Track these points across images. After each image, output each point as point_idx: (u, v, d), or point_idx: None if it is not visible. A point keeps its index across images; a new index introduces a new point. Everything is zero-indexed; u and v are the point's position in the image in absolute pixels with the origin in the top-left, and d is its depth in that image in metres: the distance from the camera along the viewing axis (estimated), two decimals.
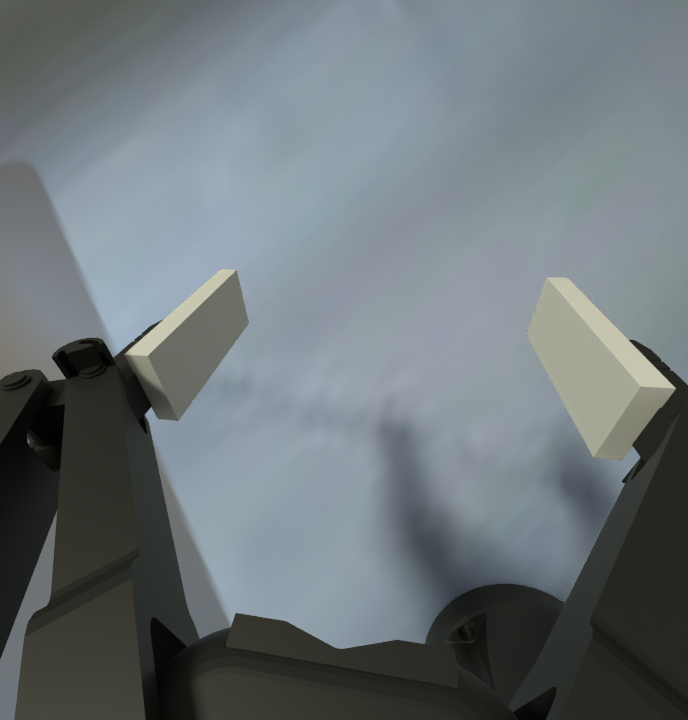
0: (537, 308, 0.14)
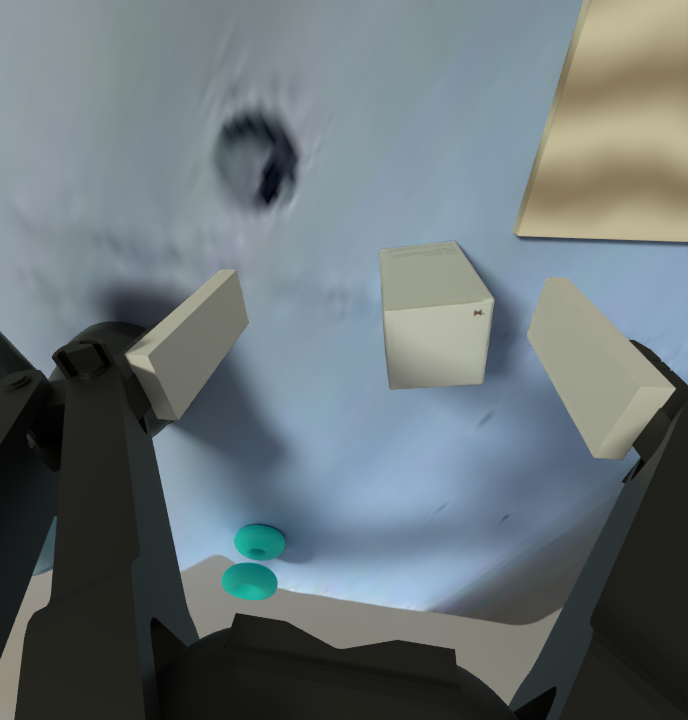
0: (537, 308, 0.14)
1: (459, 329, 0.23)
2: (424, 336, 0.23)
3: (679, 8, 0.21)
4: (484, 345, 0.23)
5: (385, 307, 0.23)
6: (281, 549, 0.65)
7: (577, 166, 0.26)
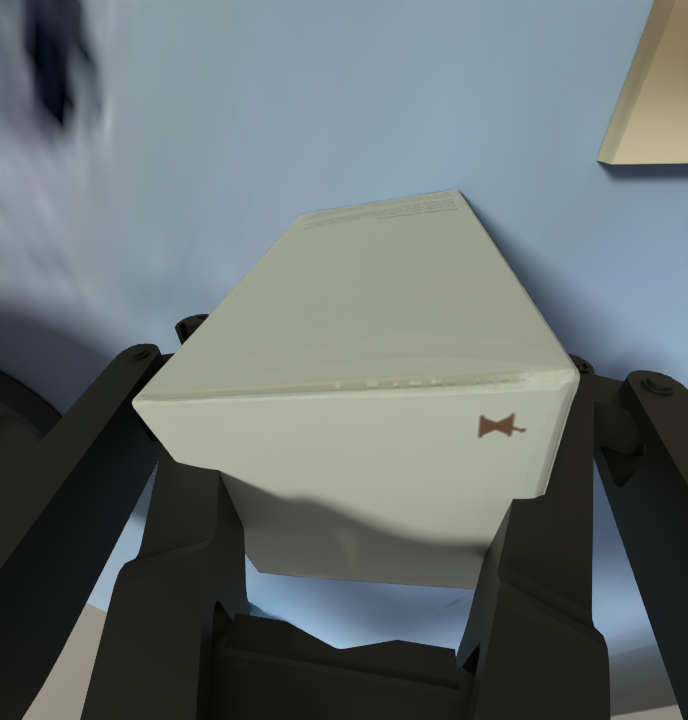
0: None
1: (422, 475, 0.06)
2: (299, 483, 0.06)
3: None
4: None
5: (149, 382, 0.06)
6: None
7: None
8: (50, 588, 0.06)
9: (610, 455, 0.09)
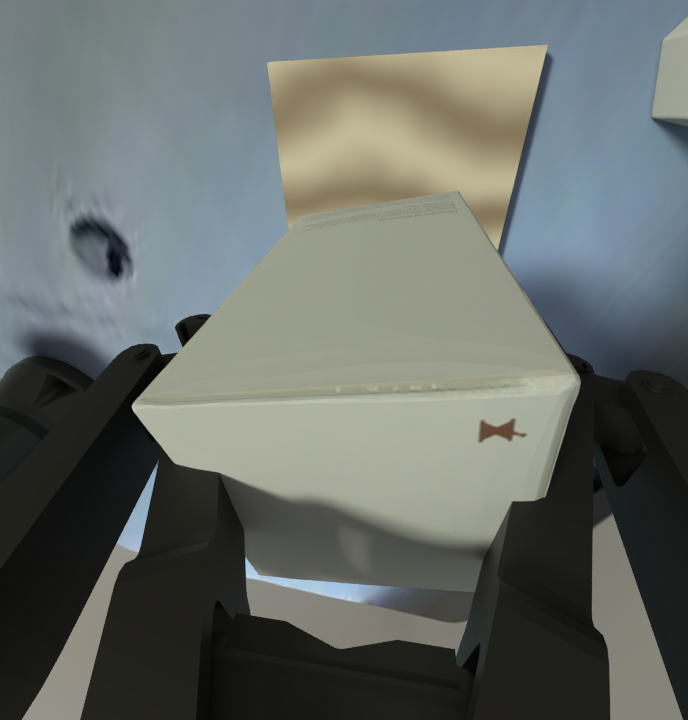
0: None
1: (422, 479, 0.06)
2: (299, 486, 0.06)
3: (341, 150, 0.28)
4: None
5: (149, 386, 0.06)
6: None
7: None
8: (50, 588, 0.06)
9: (610, 455, 0.09)
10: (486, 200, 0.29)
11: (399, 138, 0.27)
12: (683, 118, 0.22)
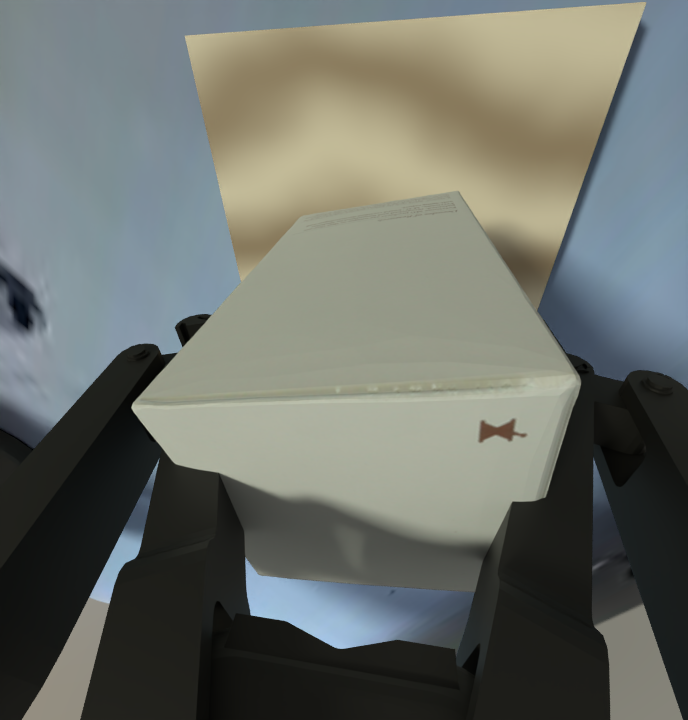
0: None
1: (422, 479, 0.06)
2: (299, 486, 0.06)
3: (308, 173, 0.19)
4: None
5: (149, 386, 0.06)
6: None
7: None
8: (50, 588, 0.06)
9: (610, 455, 0.09)
10: (524, 245, 0.19)
11: (395, 155, 0.18)
12: None
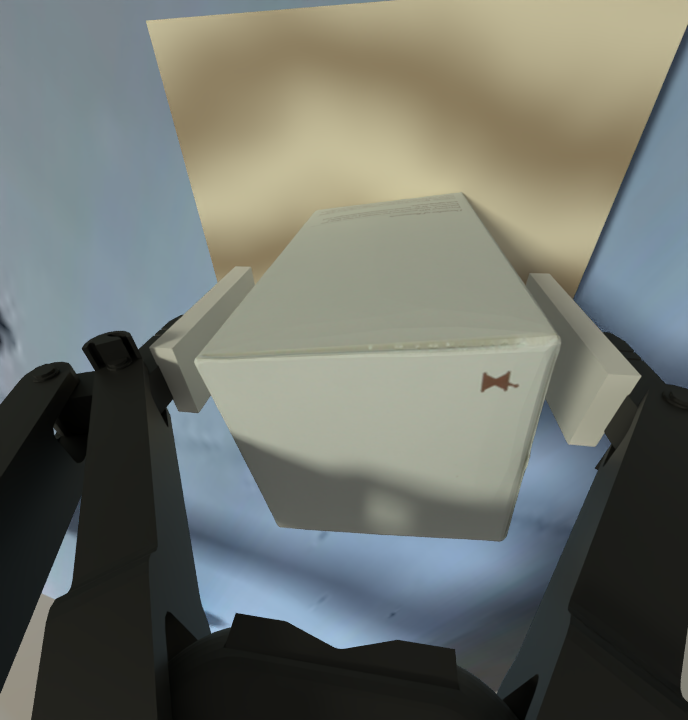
0: None
1: (433, 426, 0.07)
2: (328, 434, 0.08)
3: (296, 182, 0.16)
4: (514, 467, 0.08)
5: (206, 346, 0.07)
6: None
7: None
8: None
9: None
10: (545, 265, 0.17)
11: (396, 162, 0.15)
12: None
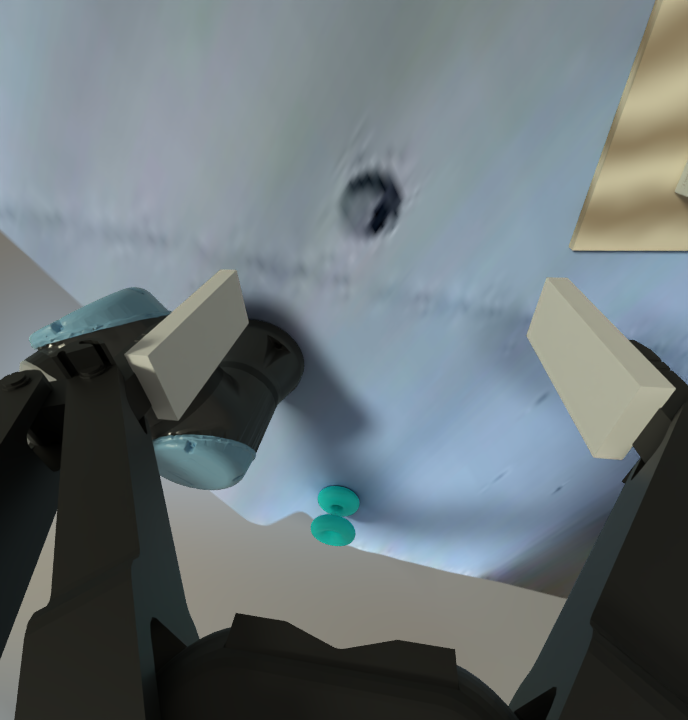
0: (537, 308, 0.14)
1: None
2: None
3: None
4: None
5: None
6: (356, 507, 0.77)
7: (622, 197, 0.34)
8: None
9: None
10: None
11: None
12: None
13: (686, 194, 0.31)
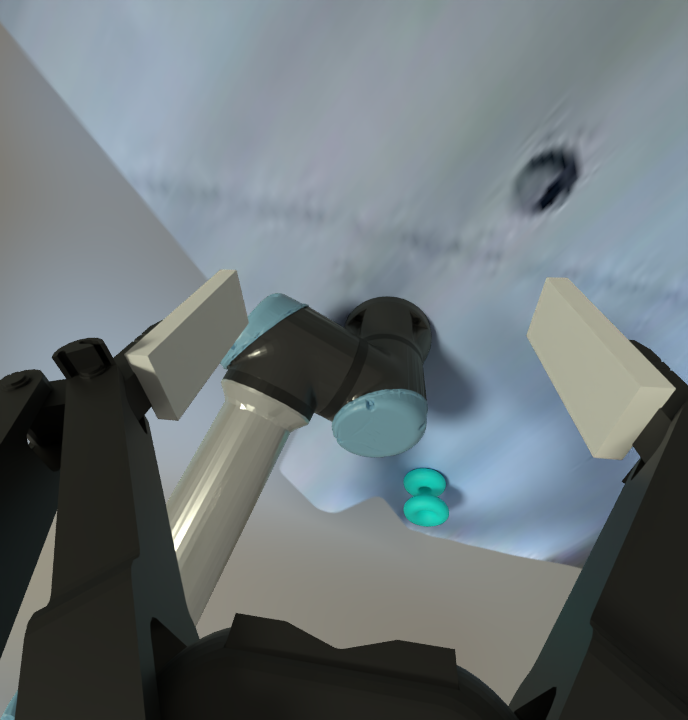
0: (537, 308, 0.14)
1: None
2: None
3: None
4: None
5: None
6: (444, 489, 0.79)
7: None
8: None
9: None
10: None
11: None
12: None
13: None
